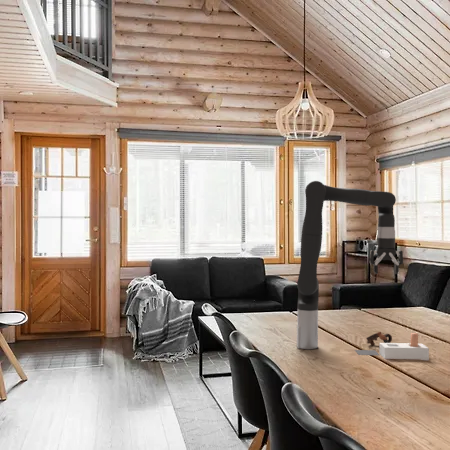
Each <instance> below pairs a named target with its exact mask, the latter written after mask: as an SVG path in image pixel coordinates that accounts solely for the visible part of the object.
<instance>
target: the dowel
mask: <svg viewBox="0 0 450 450" xmlns="http://www.w3.org/2000/svg"><path fill="white" fill-rule="evenodd" d="M410 343H411V347H418V343H419V333H415V332H410Z"/></svg>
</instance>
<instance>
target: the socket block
mask: <svg viewBox="0 0 450 450" xmlns="http://www.w3.org/2000/svg"><path fill="white" fill-rule="evenodd" d="M378 345H379V350H378V352H379V353H378V354H379V356H381V357H382V358H383V359H387V360H391V359H392V360H394V359H395V360H422V361H429V360H430V359H429V357H430V348H429V347H428V346H427V345H425V344H423V343H419V342H418V347H411V342H410V343H409V342H406V343H405V342H390V343H384V342H379V344H378Z"/></svg>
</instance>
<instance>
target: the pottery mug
mask: <svg viewBox="0 0 450 450" xmlns="http://www.w3.org/2000/svg"><path fill="white" fill-rule="evenodd" d="M378 338H379V339H380V340H381V341H382V342H383V343H392V341H393V337H392V335H391V334H390V333H386V334H383V333H382V332H381V331H378V332H376V333H374V334H372V335H369V336H367V337H366V344H370V345H372V346H374V345H375V341H378Z"/></svg>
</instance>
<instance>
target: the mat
mask: <svg viewBox="0 0 450 450" xmlns="http://www.w3.org/2000/svg"><path fill="white" fill-rule="evenodd" d="M354 351H355V353H356V354H357V355H358V356H380V354H379V353H378V351H376V350H374V349H369V350H368V349H354Z"/></svg>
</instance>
